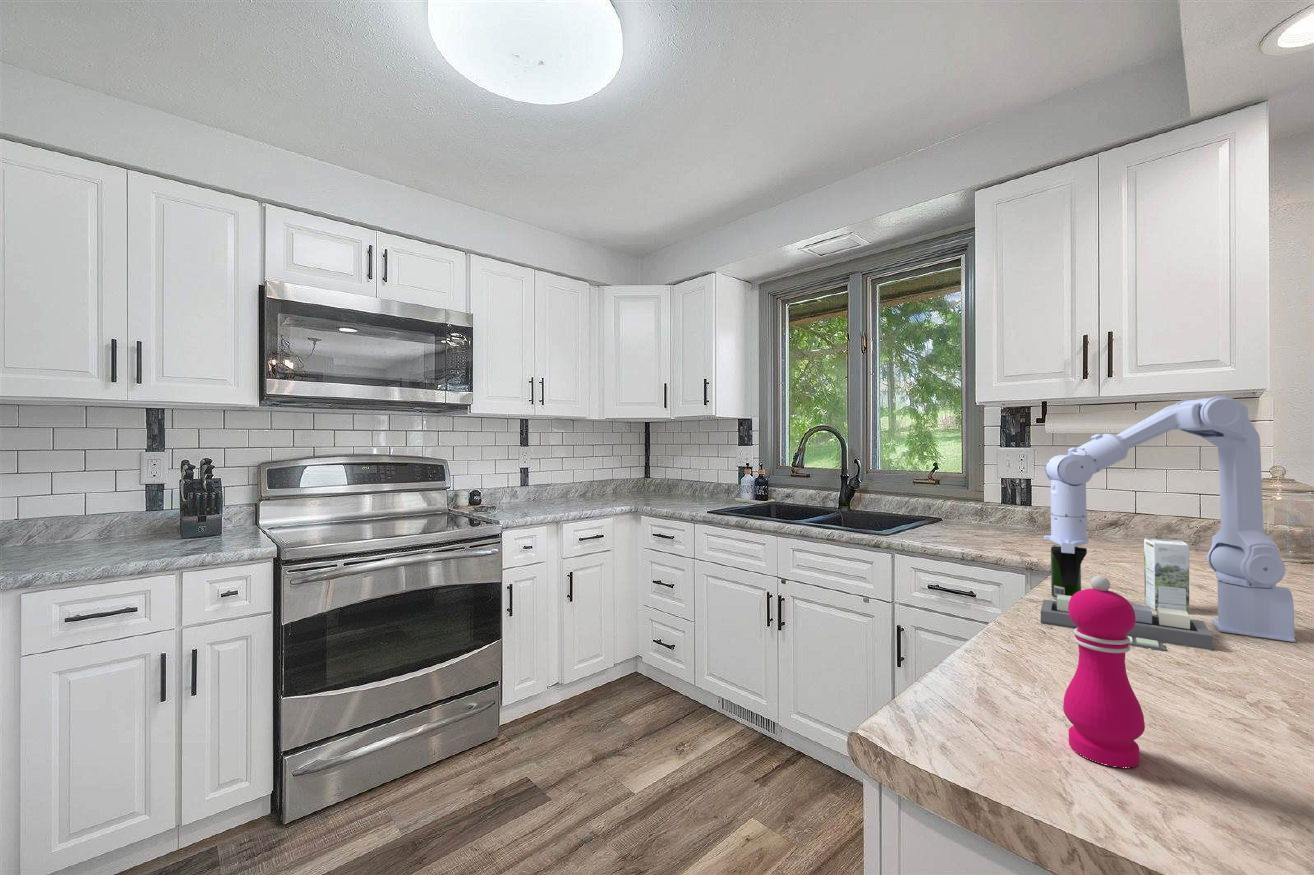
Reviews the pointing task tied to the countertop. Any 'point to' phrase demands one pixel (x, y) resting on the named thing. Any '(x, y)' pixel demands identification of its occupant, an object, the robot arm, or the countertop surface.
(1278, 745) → the countertop surface
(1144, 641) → the strip
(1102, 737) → the pepper mill
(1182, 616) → the key cream
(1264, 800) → the countertop surface
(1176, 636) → the grey shallow tray
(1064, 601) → the key sage
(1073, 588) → the beer can
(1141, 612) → the key slate
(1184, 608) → the syrup box
